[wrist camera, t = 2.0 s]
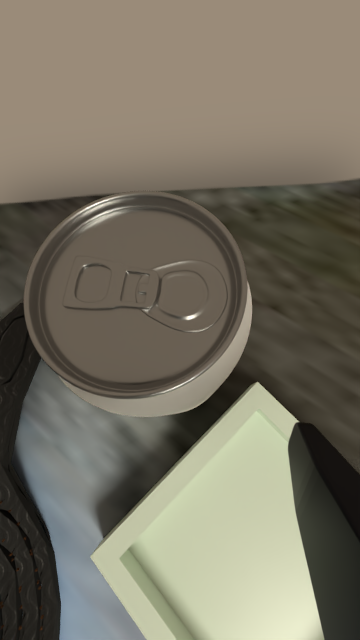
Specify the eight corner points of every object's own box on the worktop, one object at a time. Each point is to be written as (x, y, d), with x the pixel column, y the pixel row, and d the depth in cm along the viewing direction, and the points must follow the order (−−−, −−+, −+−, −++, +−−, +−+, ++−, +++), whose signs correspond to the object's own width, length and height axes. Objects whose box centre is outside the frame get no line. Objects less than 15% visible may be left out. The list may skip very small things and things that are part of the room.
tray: (426, 556, 15) (460, 578, 13) (270, 775, 13) (283, 839, 11) (251, 384, 18) (257, 381, 16) (103, 539, 16) (90, 556, 14)
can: (217, 420, 17) (258, 441, 6) (114, 405, 18) (-33, 397, 6) (227, 319, 19) (272, 185, 8) (133, 309, 20) (45, 170, 8)
